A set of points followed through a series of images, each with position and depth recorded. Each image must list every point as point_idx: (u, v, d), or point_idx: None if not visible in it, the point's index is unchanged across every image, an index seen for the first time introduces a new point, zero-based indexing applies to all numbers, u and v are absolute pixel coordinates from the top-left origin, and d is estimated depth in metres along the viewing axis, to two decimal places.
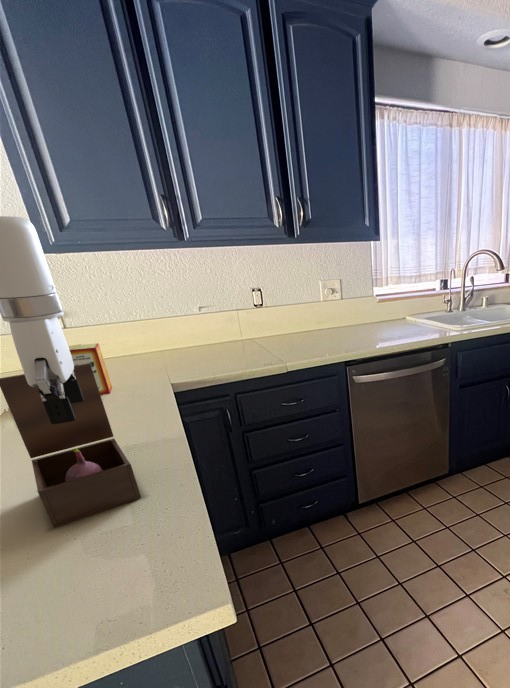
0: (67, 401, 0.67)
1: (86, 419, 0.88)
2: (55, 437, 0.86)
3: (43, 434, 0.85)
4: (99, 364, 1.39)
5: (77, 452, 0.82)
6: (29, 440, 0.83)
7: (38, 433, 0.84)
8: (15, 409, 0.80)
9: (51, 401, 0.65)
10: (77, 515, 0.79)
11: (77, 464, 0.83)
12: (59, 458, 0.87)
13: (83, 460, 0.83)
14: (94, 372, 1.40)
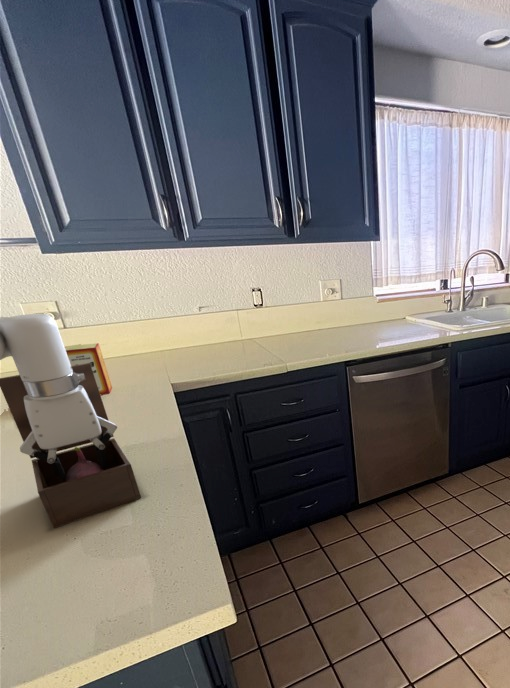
0: (56, 466, 0.80)
1: None
2: None
3: None
4: (99, 364, 1.39)
5: (78, 451, 0.83)
6: None
7: None
8: (15, 409, 0.80)
9: None
10: (77, 515, 0.79)
11: (78, 463, 0.83)
12: (59, 458, 0.87)
13: (84, 459, 0.84)
14: (94, 372, 1.40)
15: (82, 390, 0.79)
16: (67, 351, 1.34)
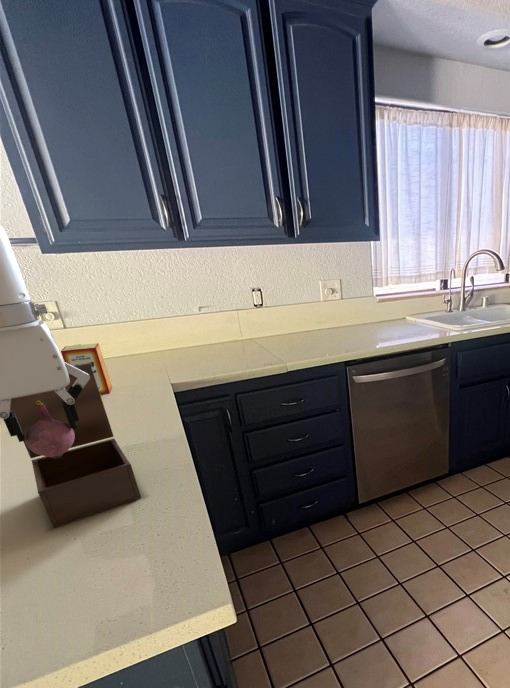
0: (10, 422, 0.63)
1: (86, 419, 0.88)
2: None
3: None
4: (99, 364, 1.39)
5: (40, 405, 0.66)
6: None
7: None
8: (15, 409, 0.80)
9: None
10: (77, 515, 0.79)
11: (40, 421, 0.66)
12: (59, 458, 0.87)
13: (48, 416, 0.67)
14: (94, 372, 1.40)
15: (43, 325, 0.62)
16: (67, 351, 1.34)
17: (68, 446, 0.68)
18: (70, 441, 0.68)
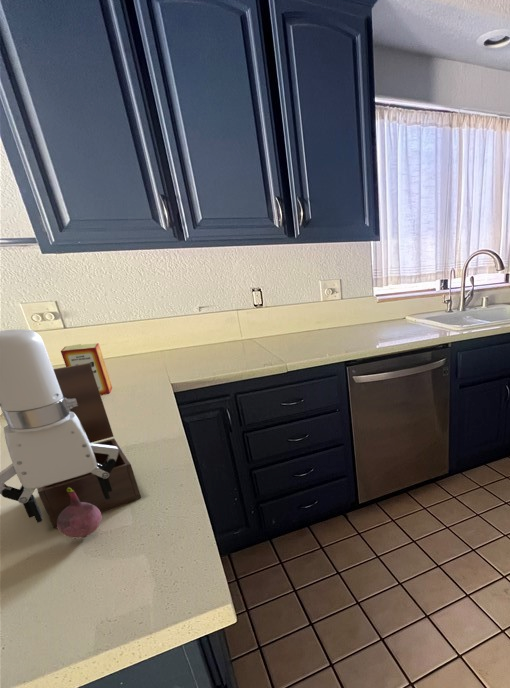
0: (29, 506, 0.67)
1: (86, 419, 0.88)
2: None
3: None
4: (99, 364, 1.39)
5: (71, 492, 0.71)
6: None
7: None
8: None
9: None
10: None
11: (71, 506, 0.71)
12: None
13: (78, 501, 0.72)
14: (94, 372, 1.40)
15: (74, 418, 0.67)
16: (67, 351, 1.34)
17: (96, 527, 0.73)
18: (98, 522, 0.73)
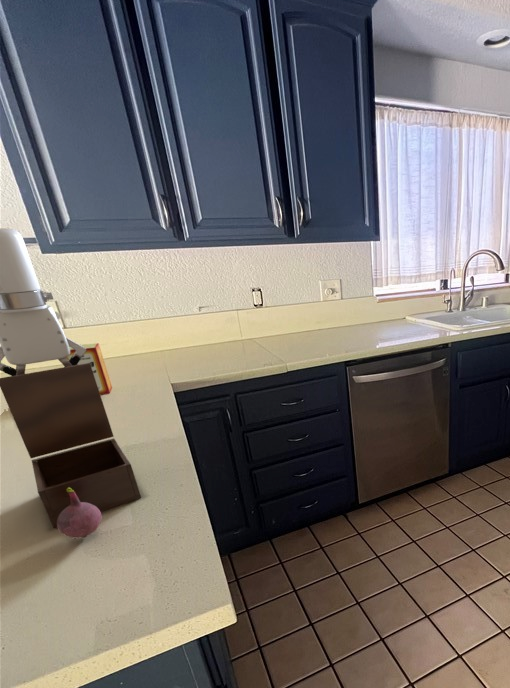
0: None
1: (86, 419, 0.88)
2: (55, 437, 0.86)
3: (43, 434, 0.85)
4: (99, 364, 1.39)
5: (71, 492, 0.71)
6: (29, 440, 0.83)
7: (38, 433, 0.84)
8: (15, 409, 0.80)
9: None
10: None
11: (71, 506, 0.71)
12: (59, 458, 0.87)
13: (78, 501, 0.72)
14: (94, 372, 1.40)
15: (50, 308, 0.82)
16: None
17: (96, 527, 0.73)
18: (98, 522, 0.73)
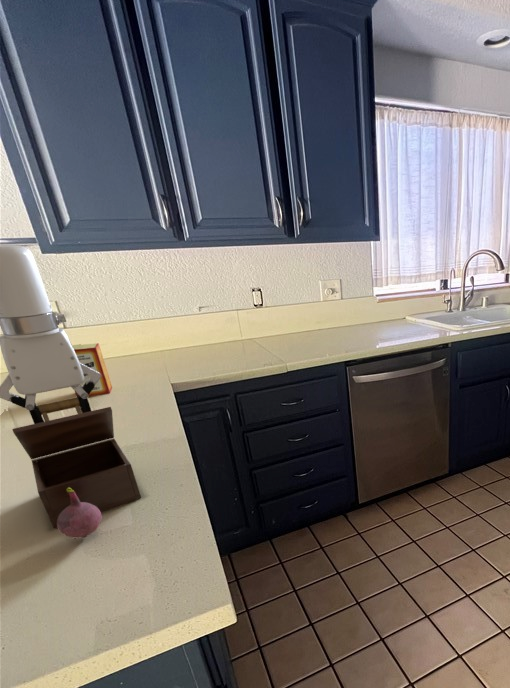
0: (35, 413, 0.75)
1: (93, 435, 0.87)
2: (59, 447, 0.85)
3: (48, 448, 0.83)
4: (99, 364, 1.39)
5: (71, 492, 0.71)
6: (33, 452, 0.82)
7: (43, 448, 0.82)
8: (26, 442, 0.77)
9: None
10: None
11: (71, 506, 0.71)
12: (59, 458, 0.87)
13: (78, 501, 0.72)
14: None
15: (63, 332, 0.74)
16: None
17: (96, 527, 0.73)
18: (98, 522, 0.73)
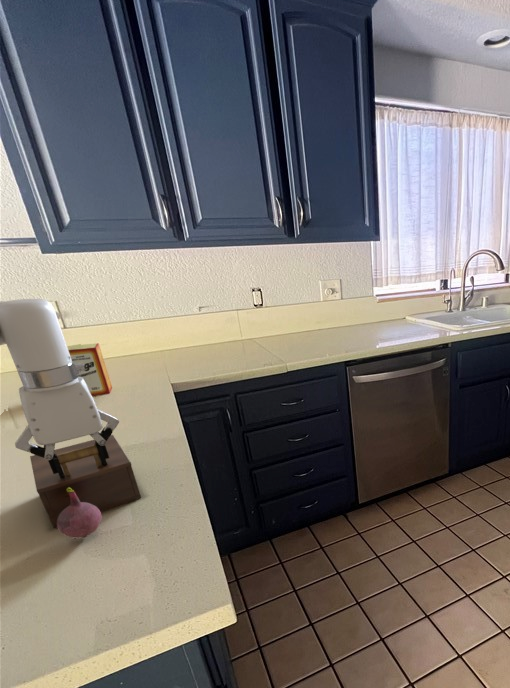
0: (54, 463, 0.75)
1: None
2: None
3: None
4: (99, 364, 1.39)
5: (71, 492, 0.71)
6: None
7: None
8: None
9: None
10: None
11: (71, 506, 0.71)
12: None
13: (78, 501, 0.72)
14: (94, 372, 1.40)
15: (82, 381, 0.74)
16: None
17: (96, 527, 0.73)
18: (98, 522, 0.73)
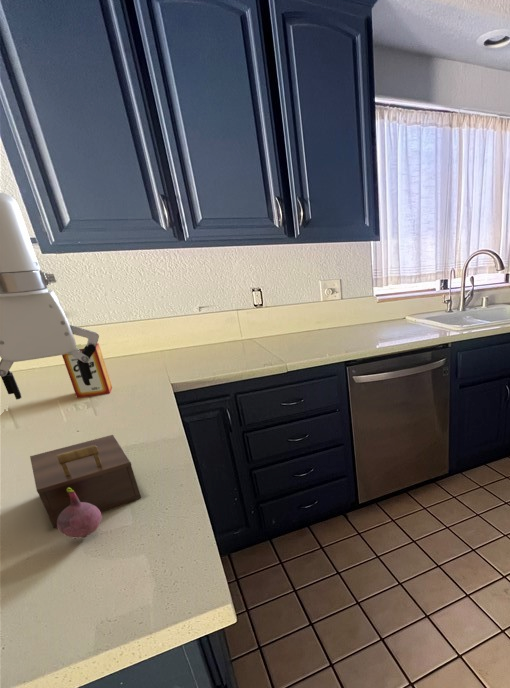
0: (8, 380, 0.67)
1: None
2: None
3: None
4: (99, 364, 1.39)
5: (71, 492, 0.71)
6: None
7: None
8: None
9: None
10: None
11: (71, 506, 0.71)
12: None
13: (78, 501, 0.72)
14: (94, 372, 1.40)
15: (52, 293, 0.67)
16: None
17: (96, 527, 0.73)
18: (98, 522, 0.73)
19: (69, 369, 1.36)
